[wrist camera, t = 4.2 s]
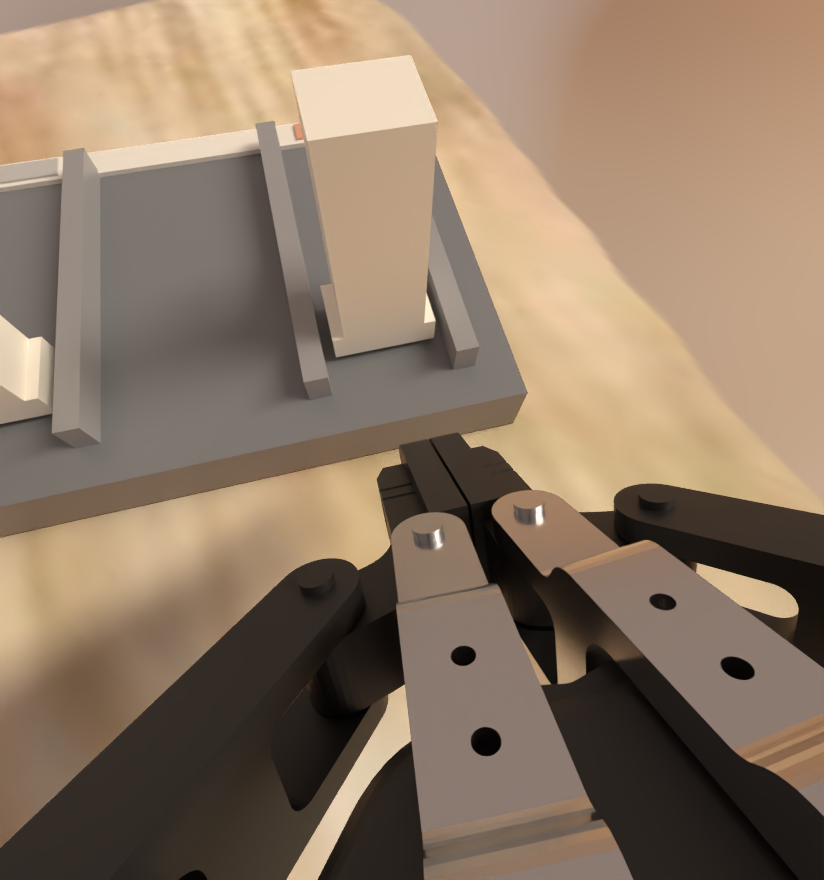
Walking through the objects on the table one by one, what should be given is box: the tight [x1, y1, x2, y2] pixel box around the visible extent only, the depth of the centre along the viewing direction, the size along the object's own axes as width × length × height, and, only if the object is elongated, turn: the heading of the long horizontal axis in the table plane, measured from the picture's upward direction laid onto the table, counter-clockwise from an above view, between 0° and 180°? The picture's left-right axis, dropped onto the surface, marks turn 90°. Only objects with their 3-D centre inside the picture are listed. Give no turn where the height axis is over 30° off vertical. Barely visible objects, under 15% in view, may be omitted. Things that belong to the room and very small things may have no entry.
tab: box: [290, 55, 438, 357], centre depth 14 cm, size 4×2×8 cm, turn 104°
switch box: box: [0, 121, 528, 537], centre depth 20 cm, size 22×16×4 cm
